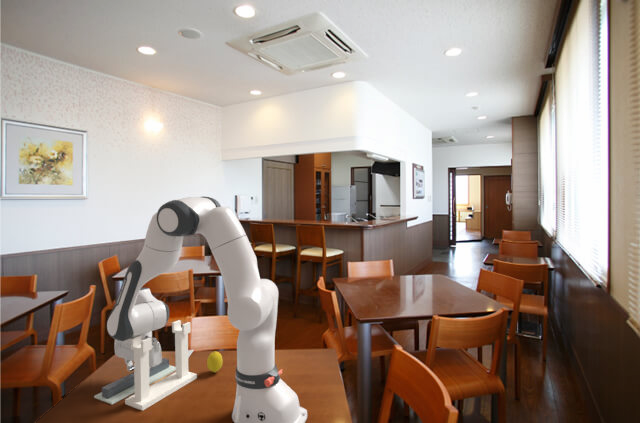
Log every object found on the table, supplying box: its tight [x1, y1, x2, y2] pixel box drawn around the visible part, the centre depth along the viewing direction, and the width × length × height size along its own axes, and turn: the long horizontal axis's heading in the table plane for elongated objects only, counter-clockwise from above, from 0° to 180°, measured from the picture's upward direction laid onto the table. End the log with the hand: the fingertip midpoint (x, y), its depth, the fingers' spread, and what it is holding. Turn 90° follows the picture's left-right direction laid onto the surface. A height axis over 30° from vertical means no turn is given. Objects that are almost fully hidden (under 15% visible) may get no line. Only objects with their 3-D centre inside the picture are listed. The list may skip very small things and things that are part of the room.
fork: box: [188, 349, 195, 359], centre depth 142 cm, size 3×21×3 cm, turn 10°
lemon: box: [206, 350, 224, 373], centre depth 132 cm, size 6×6×8 cm
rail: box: [101, 357, 170, 399], centre depth 125 cm, size 3×24×3 cm, turn 154°
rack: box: [124, 319, 198, 411], centre depth 119 cm, size 8×22×20 cm, turn 154°
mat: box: [93, 364, 176, 405], centre depth 125 cm, size 9×26×1 cm, turn 154°
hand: (138, 372), depth 125 cm, fingers open, 6 cm apart
